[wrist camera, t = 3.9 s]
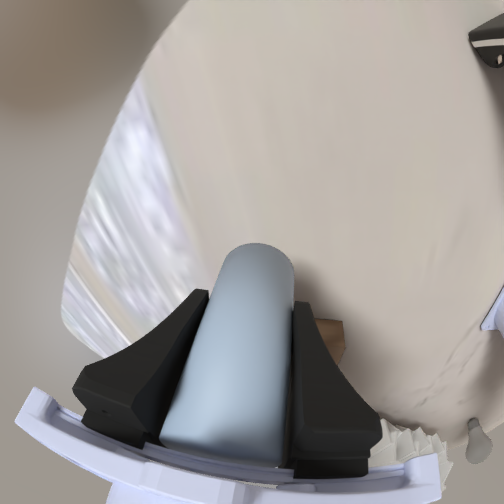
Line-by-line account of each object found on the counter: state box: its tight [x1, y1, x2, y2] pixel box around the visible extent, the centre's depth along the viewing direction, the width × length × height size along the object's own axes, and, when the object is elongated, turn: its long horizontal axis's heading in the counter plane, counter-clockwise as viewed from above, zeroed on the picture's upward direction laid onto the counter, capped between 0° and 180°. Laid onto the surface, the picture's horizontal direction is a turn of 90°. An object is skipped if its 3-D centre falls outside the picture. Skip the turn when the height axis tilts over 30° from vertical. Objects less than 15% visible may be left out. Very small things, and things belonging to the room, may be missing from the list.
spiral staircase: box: [368, 419, 453, 504], centre depth 28 cm, size 18×18×25 cm
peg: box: [159, 243, 294, 468], centre depth 11 cm, size 4×4×10 cm
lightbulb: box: [466, 418, 493, 464], centre depth 30 cm, size 6×6×11 cm
